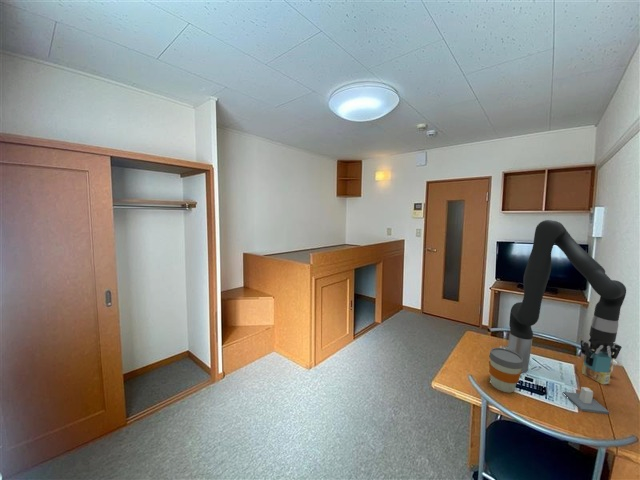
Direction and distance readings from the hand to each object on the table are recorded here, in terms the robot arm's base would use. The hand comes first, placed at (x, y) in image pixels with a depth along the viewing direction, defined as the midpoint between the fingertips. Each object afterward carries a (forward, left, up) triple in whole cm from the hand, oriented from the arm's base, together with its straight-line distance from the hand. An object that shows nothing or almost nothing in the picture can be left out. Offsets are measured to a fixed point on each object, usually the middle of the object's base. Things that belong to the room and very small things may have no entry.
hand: (596, 365), depth 114 cm
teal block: (0, 0, -1) cm, 1 cm away
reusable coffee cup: (-34, +2, -16) cm, 37 cm away
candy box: (+14, +16, -16) cm, 26 cm away
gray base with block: (-5, -4, -15) cm, 17 cm away
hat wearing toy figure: (+22, +22, -16) cm, 34 cm away
